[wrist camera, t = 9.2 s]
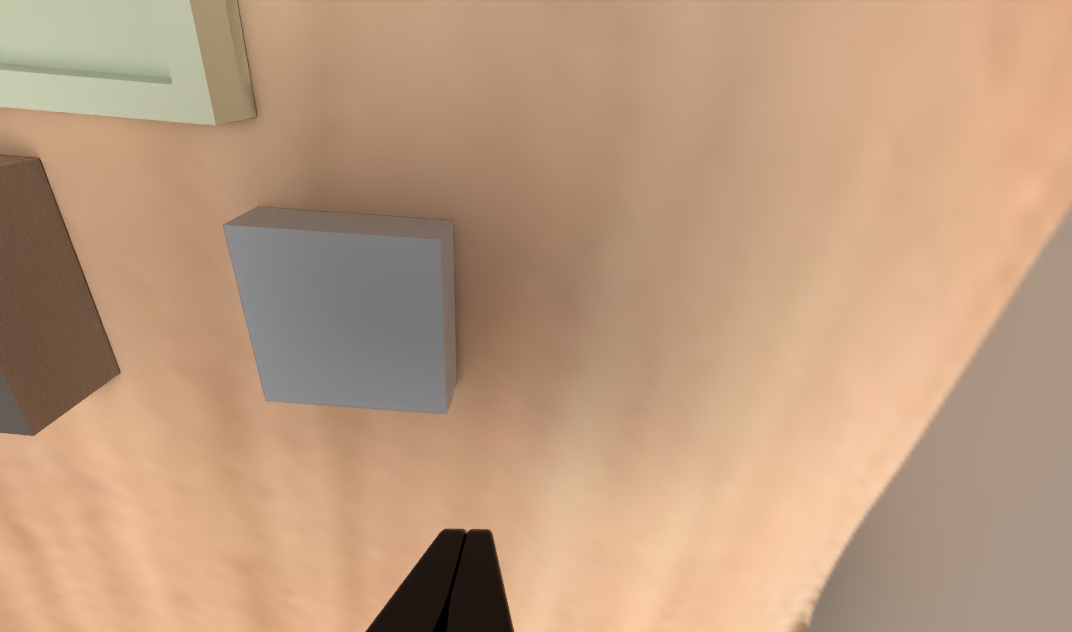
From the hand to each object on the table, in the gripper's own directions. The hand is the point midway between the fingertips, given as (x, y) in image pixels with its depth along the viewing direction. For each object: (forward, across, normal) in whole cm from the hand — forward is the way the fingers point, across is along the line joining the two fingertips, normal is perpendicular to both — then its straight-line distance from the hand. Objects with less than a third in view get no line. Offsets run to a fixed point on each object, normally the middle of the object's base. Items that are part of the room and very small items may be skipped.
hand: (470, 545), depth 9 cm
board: (+12, +6, +1) cm, 13 cm away
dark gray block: (+12, +18, 0) cm, 22 cm away
